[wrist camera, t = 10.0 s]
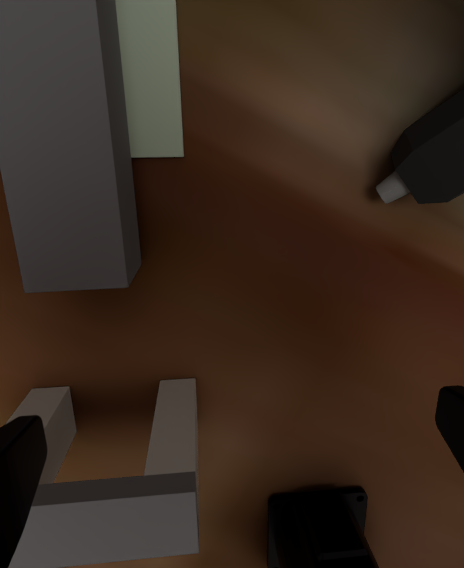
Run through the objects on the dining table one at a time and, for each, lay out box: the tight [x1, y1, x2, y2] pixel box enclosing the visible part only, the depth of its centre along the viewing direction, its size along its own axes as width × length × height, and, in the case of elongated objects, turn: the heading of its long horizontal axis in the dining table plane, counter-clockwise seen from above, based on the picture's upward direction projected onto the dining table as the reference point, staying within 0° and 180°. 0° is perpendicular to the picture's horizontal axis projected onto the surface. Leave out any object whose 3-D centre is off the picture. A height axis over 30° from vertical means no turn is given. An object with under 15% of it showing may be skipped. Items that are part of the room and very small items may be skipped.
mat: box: [115, 0, 184, 158], centre depth 16 cm, size 10×9×1 cm
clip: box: [6, 378, 199, 568], centre depth 18 cm, size 3×9×8 cm, turn 91°
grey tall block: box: [0, 0, 142, 293], centre depth 15 cm, size 15×4×4 cm, turn 2°
